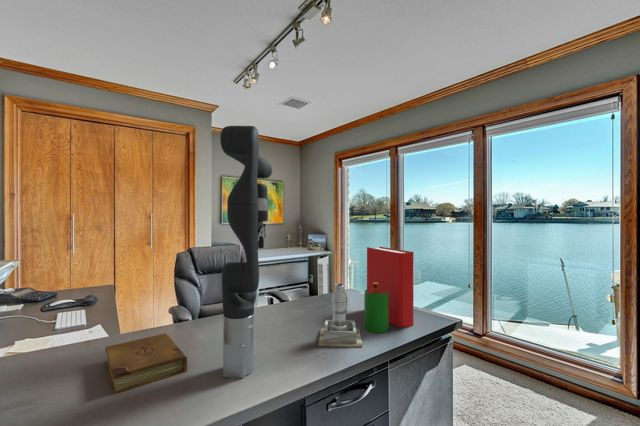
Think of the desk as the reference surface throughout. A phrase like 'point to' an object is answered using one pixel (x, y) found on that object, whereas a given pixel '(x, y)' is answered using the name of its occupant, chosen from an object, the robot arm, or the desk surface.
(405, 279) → the book
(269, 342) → the desk surface
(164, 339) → the diary
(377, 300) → the motor
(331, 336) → the mounting cradle
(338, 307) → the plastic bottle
